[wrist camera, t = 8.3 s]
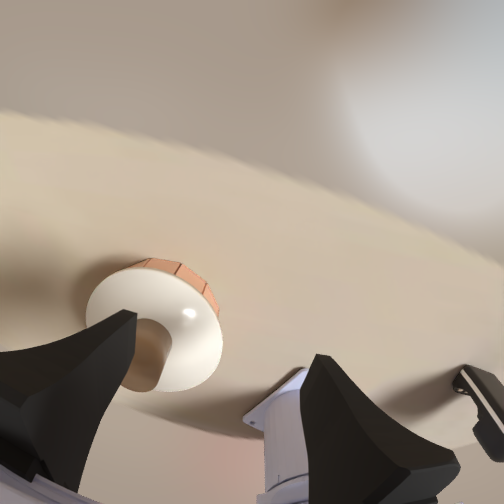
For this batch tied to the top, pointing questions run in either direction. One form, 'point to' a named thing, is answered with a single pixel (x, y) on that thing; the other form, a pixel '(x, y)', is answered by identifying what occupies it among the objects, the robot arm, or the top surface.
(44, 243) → the top surface
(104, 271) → the top surface
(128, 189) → the top surface
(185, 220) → the top surface
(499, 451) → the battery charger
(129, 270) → the lid
